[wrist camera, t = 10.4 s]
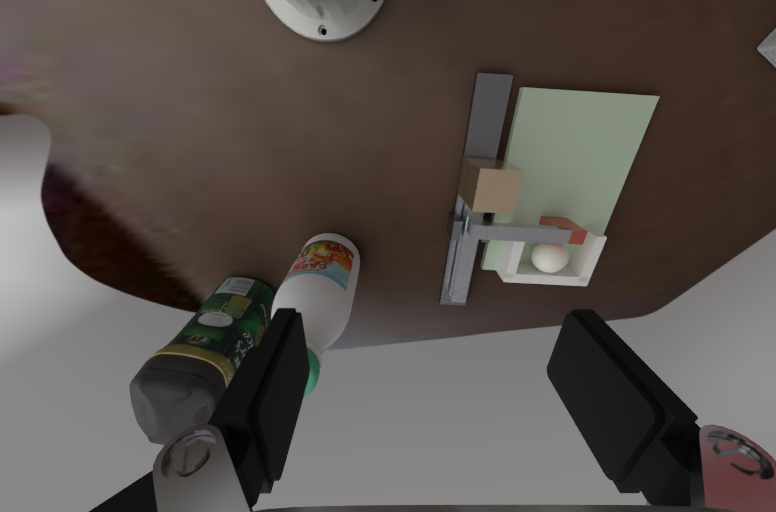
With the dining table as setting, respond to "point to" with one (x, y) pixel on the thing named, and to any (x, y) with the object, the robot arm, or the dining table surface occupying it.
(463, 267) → the grey l-shaped bar
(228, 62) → the dining table surface
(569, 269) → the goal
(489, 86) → the rail
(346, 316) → the milk bottle
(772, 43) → the supplement box
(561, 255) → the ball
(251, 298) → the coffee jar
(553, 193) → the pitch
